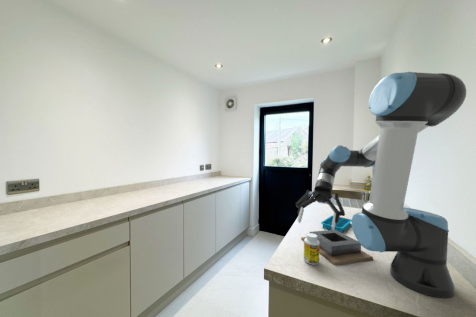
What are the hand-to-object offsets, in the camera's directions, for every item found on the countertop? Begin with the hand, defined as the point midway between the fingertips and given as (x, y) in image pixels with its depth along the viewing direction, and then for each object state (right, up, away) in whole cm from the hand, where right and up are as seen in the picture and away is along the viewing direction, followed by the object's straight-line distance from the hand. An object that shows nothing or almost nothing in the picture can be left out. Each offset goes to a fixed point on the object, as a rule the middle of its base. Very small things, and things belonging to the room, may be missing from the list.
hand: (315, 225), depth 80 cm
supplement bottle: (-4, -12, -6) cm, 14 cm away
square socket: (+10, -12, +4) cm, 16 cm away
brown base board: (+10, -12, +4) cm, 16 cm away
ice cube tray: (+26, -12, +32) cm, 43 cm away
